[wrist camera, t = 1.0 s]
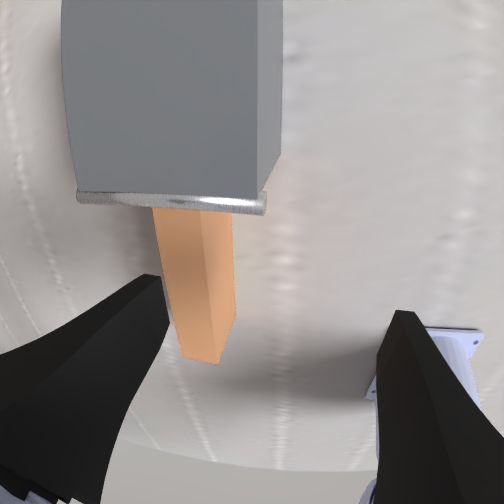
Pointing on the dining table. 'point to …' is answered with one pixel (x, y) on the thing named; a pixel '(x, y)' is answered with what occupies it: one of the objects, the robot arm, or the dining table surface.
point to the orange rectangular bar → (198, 278)
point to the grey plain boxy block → (173, 101)
